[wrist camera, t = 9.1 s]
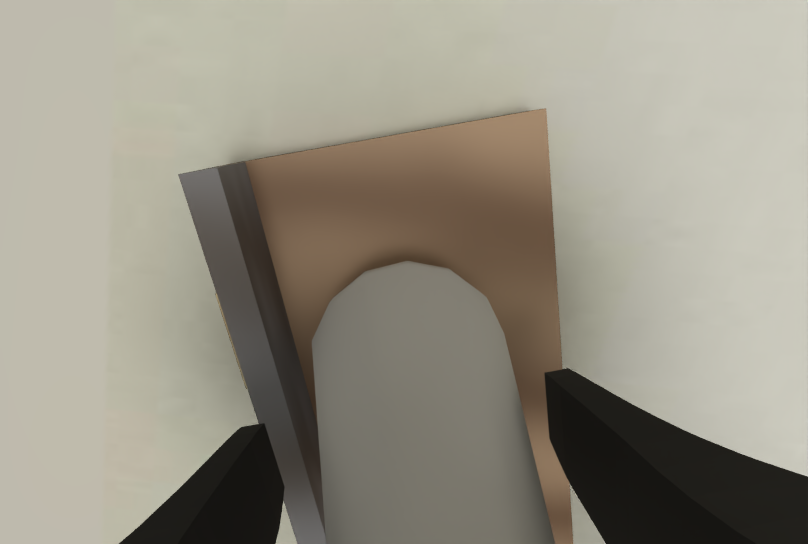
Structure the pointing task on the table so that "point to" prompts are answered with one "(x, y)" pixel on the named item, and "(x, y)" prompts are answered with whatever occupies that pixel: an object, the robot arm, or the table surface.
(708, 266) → the table surface
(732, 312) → the table surface
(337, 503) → the salt shaker
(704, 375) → the table surface
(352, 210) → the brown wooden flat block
